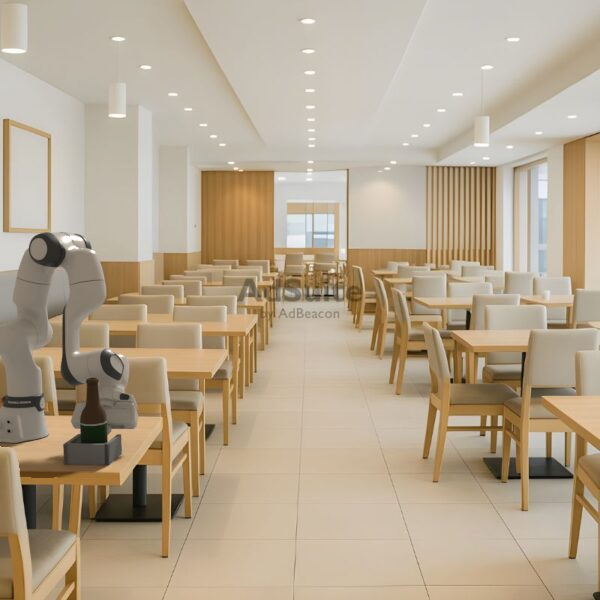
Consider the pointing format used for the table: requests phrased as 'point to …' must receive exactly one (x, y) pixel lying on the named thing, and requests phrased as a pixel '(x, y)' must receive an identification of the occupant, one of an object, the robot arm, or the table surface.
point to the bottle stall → (91, 451)
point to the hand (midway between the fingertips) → (99, 439)
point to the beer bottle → (93, 416)
